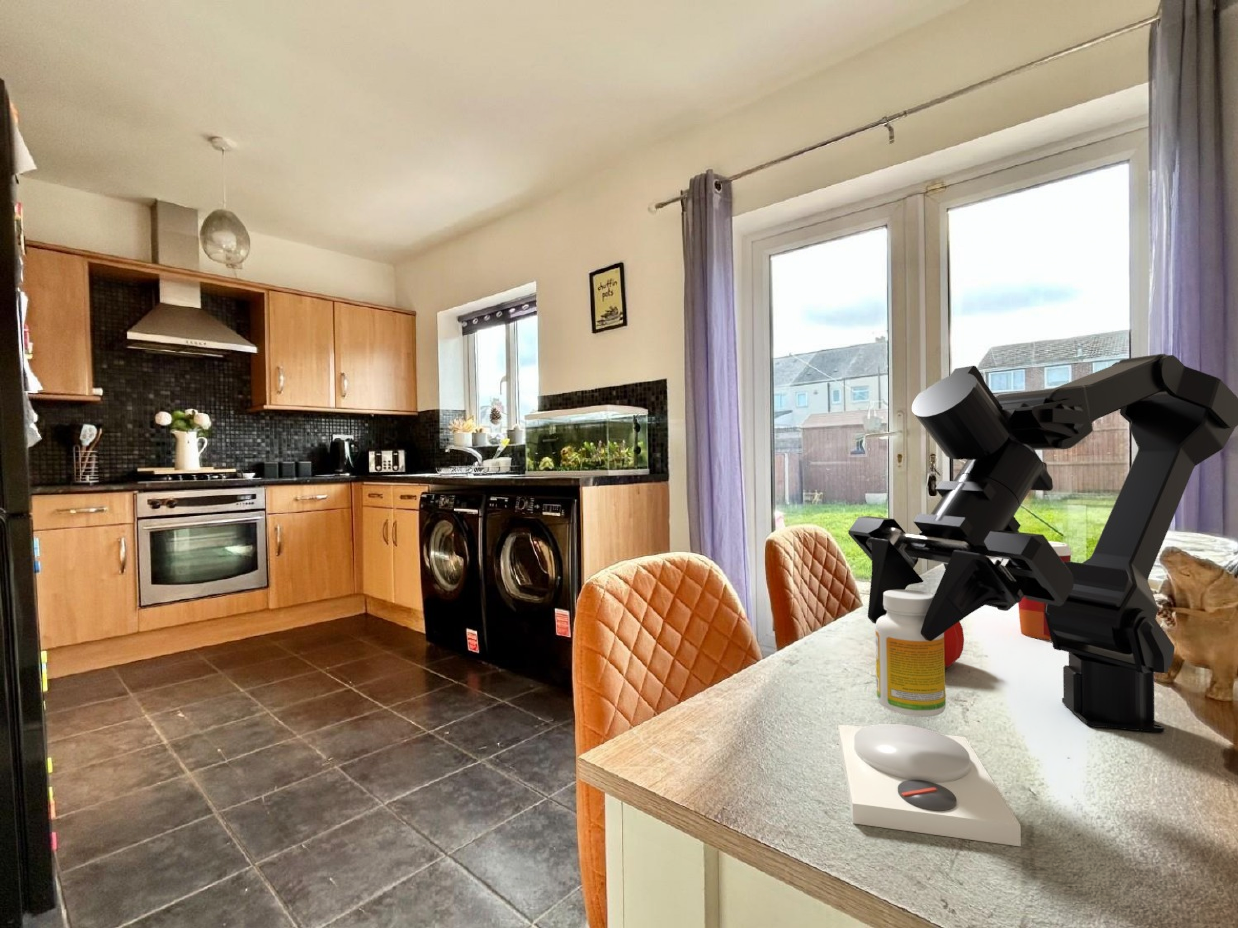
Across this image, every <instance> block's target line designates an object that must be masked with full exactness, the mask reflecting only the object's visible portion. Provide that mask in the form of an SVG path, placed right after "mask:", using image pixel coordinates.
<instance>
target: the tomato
mask: <svg viewBox="0 0 1238 928" xmlns="http://www.w3.org/2000/svg"><path fill="white" fill-rule="evenodd" d="M961 623H962V622H961V621H959V622H958V623H956V624H955V625H953V626H952V627H951V628H949V629H948V630H946V631H945V632H944V659H945V668H949V667H950V666H951V665H953V663H954V662H956V661H957V660H958V659H960V658H961V655H962V652H963V651H964V643H965V636H964V628H963V626H962V624H961Z"/></svg>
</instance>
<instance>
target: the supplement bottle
mask: <svg viewBox="0 0 1238 928" xmlns="http://www.w3.org/2000/svg"><path fill="white" fill-rule="evenodd" d="M933 597H934V595H933V594H932V593H929V592H925V591H921V590H914V589H905V590H888V591H885V592H884V594H883V606H884V609H885V610H887V614H885V615H882V616H881V617H879V618H878V620H877V621H876V624H875V665H876V666H875V667H876V668H875V669H876V671H875V672H876V673H875V675H876V678H875V679H876V680H875V681H876V698H877V701H878V703H879V705H880V706H881V707H883V708H884V709H886V710H888V711H890V712H893V713H897V714H900V715H904V716H908V717H917V718H930V717H935V716H939V715H941V714H943V713H944V711H945V710H946V703H947V701H946V700H947V699H946V696H947V695H946V670H945V669H946V667H945V659H944V633H942V634H941V635H939V636H938V637H937V638H935V639H934V640H932V641H928V640H926V639H925V638H924V637H923V636H922V635H921V629H922V625H923V622H924V619H925V616H926V613H927V611H928V609H929V606H930V604H931V602H932V600H933Z"/></svg>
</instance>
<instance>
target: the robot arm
mask: <svg viewBox="0 0 1238 928" xmlns="http://www.w3.org/2000/svg"><path fill="white" fill-rule="evenodd" d="M1117 411H1119V415H1120V416H1121V417H1122V418H1124V419H1125V420H1126V421H1127V423H1129V430H1130V433H1131V435H1132V437H1133V440H1134V442H1135V443H1136V447H1137V448H1138V449H1137V452H1136V455H1135V457H1134V459H1133V462H1132V464H1131V466H1130V468H1129V470H1128V473H1127V475H1126V477H1125V480H1124V481H1123V484H1122V485H1121V488H1120V491H1119V493H1118V495H1117V498H1116V499H1115V502H1114V504H1113V506H1112V509H1111V510H1110V514H1109V516H1108V518H1107V520H1106V522H1105V524H1104V527H1103V529H1102V532H1101V534H1100V536H1099V537H1098V538H1099V539H1098V540H1097V543H1096V545H1095V547H1094V549H1093V552H1092V554H1091V555H1090V557H1089V558H1088V559H1086V560H1085V561H1083V562H1075V561H1066V562H1065V563H1064V562H1063V561H1062V559H1061V558H1060V557H1059V555H1058V554H1057V553H1056V551H1055V550H1054V549H1053V547H1052V546H1051V544H1050V543H1049V542H1048V541H1049V540H1048V539H1047V538H1046V536H1045V535H1044V534H1042V533H1041V534H1040V533H1031V532H1021V531H1019V529H1020V527H1021V526H1022V525H1021V524H1020V523H1019V521H1018V520H1017V519H1016V517H1015V515H1016V513H1018V510H1019V508H1020V507H1021V505H1022V504H1023V503H1024V501H1025V499H1026V498H1027V496H1028V495H1029V493H1030V491H1040V492H1045V491H1046V492H1050V491H1052V490H1053V488H1054V485H1053V483H1054V482H1053V478H1052V476H1051V475H1050V474H1049V471H1048V468H1047V467H1048V465H1047V463H1046V462H1045V461H1042V459H1041V458H1040V457H1039V455H1038V453H1037V451H1048V450H1050V451H1053V450H1055V451H1056V450H1069V449H1071V448H1073V447H1075V446H1076V445H1077V444H1079V443H1080V442H1081V441H1083V440H1085V438H1086V437H1088V436H1089V435H1090V434H1091V433H1092V432H1093V430H1094V428H1093V427H1094V426H1093V423H1094V422H1095V421H1097V420H1098V419H1101V418H1102V417H1105V416H1107V415H1109V414H1112V413H1115V412H1117ZM911 412H912V413H913V414H914V416H915V417H916V419H918V421H919V422H920V424H921V425H922V427H924V429H925V430H926V431H927V432H928V434H929V435H930V437H931V438H932V439H933V441H934V442H935V443H936V445H937V446H938V447H939V448H940V450H941V451H942V452H943V454H944V455H945V457H947V458H949V459H951V460H957V461H959V460H960V461H961V460H966V461H965V462H964V464H963V466H962V467H961V469H960V470H959V472H957V474H956V476H955V478H954V479H953V481H952V480H949V481H948V480H940V481H939V483H938V485H937V486H936V487H935V490H936V491H937V493H938V494H939V495H940V496H941V498H940V499H939V501H938V503H937V504H936V506H935V507H934V508H933V510H932V512H931V513H930V514H929V513H920V512H919V513H918V514H917V515H916V516H915V517H914V519H913V523H914V525H915V526H916V527H917V528H918V529H919V534H910V533H907V532H906V531H905V530H904V529H903V528H902V527H901V525H900V524H899V523H898V522H897V520H896V519H895V518H890V517H889V518H887V517H882V516H881V517H879V516H872V515H871V516H870V515H868V516H867V515H864V516H858V517H857V519H856V520H854V522H853V524H852V525H851V527H849V530H848V532H847V534H848V535H849V536H850V538H852V540H853V541H854V542H855V543H856V544H857V545H858V547H859V548H860V550H862V551H863V552H864V554H866V556H867V557H868V558H869V560H871V576H870V577H871V578H870V579H871V580H870V588H869V599H868V601H869V602H868V609H867V618H868V620H870V622H872V624H874V625H876V621H877V620H878V618H879V617H881V616H882V615H885V614H887V610H885V609H884V606H883V594H884V592H885V591H888V590H907V589H906V588H908V587H909V585H915V584H921V583H923V582H924V580H923V578H922V577H921V576H920V575H919V574H918V572H917V571H916V569H914V568H915V566H916V565H917V563H918V562H919V559H923V560H929V561H930V562H933V563H938V564H943V566H944V567H943V568H944V569H945V570H944V571H943V572H944V573H943V574H942V577H941V579H940V582H939V584H938V586H937V589H936V590H935V592H934V595H933V596H934V597H933V600H932V602H931V604H930V606H929V609H928V611H927V613H926V616H925V619H924V622H923V625H922V629H921V635H922V636H923V637H924V638H925V639H926V640H928V641H932V640H934V639H935V638H937V637H938V636H939V635H941V634H942V633H944V632H945V631H946V630H948V629H949V628H951V627H952V626H953V625H955V624H956V623H958V622H959V621H960V622H961V621H962V620H963V619H965V618H966V617H968V616H969V615H971V614H972V613H974V612H975V611H977V610H979V609H981V608H983V607H984V606H988V607H991V608H997V610H999V611H1003V612H1005V611H1009V610H1010V609H1012V608H1013V607H1014V606H1015V605H1016V604H1018V603H1019V602H1020V601H1021V599H1022V598H1023V597H1024V596H1025V598H1026V599H1027V600H1032V601H1037V602H1042V603H1046V604H1045V618H1046V621H1047V625H1048V629H1049V633H1050V636H1051V640H1050V641H1051V644H1052V647H1053V649H1054V650H1057V651H1062V652H1067V653H1068V665H1067V664H1065V665H1064V666H1063V667H1062V669H1063V671H1062V673H1063V674H1062V677H1063V681H1062V682H1063V684H1062V685H1063V697H1062V698H1061V703H1062V704H1063V705H1064V706H1066V707H1067V708H1068V709H1069V710H1070V711H1071V712H1072V713H1073V714H1074V715H1076V716H1077V717H1078V718H1079V719H1080V720H1081V721H1082V722H1083V723H1085V724H1086V725H1087V726H1091V727H1098V728H1099V727H1100V728H1110V729H1118V730H1119V729H1120V730H1131V731H1141V732H1142V731H1144V732H1151V733H1152V732H1153V733H1164V732H1165V726H1164V725H1162V724H1161V723H1159V722H1158V721H1157V720H1155V673H1159V674H1167V673H1169V668H1171V667H1172V663H1173V661H1174V654H1175V644H1173V642H1172V641H1171V638H1169V636H1168V635H1167V633H1166V632H1165V631H1164V629H1163V628H1162V626H1161V625H1160V623H1159V622H1158V620H1157V619H1156V618H1157V614H1158V610H1159V607H1158V604H1157V602H1156V599H1155V596H1154V593H1153V591H1152V588H1151V585H1150V584H1149V579H1150V578H1149V577H1150V576H1151V575H1150V574H1151V572H1152V570H1153V567H1154V565H1155V562H1156V560H1157V558H1158V556H1159V554H1160V550H1161V548H1162V546H1163V543H1164V542H1165V538H1166V536H1167V533H1168V532H1169V529H1170V527H1171V524H1172V521H1173V519H1174V517H1175V514H1176V512H1177V510H1178V508H1179V504H1180V502H1181V499H1182V498H1183V495H1184V494H1185V493H1184V492H1185V491H1186V488H1187V485H1188V484H1189V480H1190V478H1191V476H1192V474H1193V471H1194V469H1195V467H1196V466H1197V465H1199V464H1200V463H1203V462H1204V461H1206V460H1207V459H1209V458H1210V457H1212V456H1214V455H1215V454H1217V453H1218V452H1220V451H1222V450H1223V449H1224V448H1225V446H1226V445H1227V443H1228V441H1229V440H1230V438H1231V436H1232V435H1233V433H1234V431H1235V429H1236V428H1237V427H1238V395H1236V394H1235V393H1234V392H1233V391H1232V390H1231V389H1230V388H1229V386H1228V385H1227V384H1225V382H1224V381H1222V379H1220V378H1219V377H1217V376H1213V375H1212V374H1208V373H1205V372H1204V371H1200V370H1197V369H1194V368H1191V367H1189V366H1186V365H1185V364H1184V363H1183V362H1182V361H1180V360H1179V358H1177V356H1175V355H1173V354H1170V355H1167V354H1166V353H1159V354H1152V355H1151V354H1150V355H1143V356H1137V357H1136V356H1135V357H1130V358H1122V359H1120V360H1118V362H1116V361H1115V362H1114V363H1113V364H1112V365H1110V366H1108V367H1105V368H1103V369H1100V370H1098V371H1095V372H1093V373H1090V374H1087V375H1085V376H1082V377H1080V378H1077V379H1075V380H1071V381H1070V382H1066V383H1064V384H1062V385H1059V386H1057V387H1055V388H1045V389H1038V390H1028V391H1019V392H1018V391H1017V392H1010V393H1002V394H1001V393H1000V394H999V395H997V396H995V395H994V394H993V391H992V390H991V389H990V387H989V386H988V385H987V383H986V381H985V379H984V377H983V374H982V372H980V370H979V369H978V368H977V366H976V365H970V366H964V367H962V366H961V367H957V368H954V370H952V372H951V374H950V375H949V376H946V377H944V378H942V379H939V380H937V382H935V383H933V384H931V385H930V386H928V387H927V388H926V389H925V390H923V391H920V392H919V393H918V394H917V395H916V397H915V398H914V400H913V401H912V405H911Z"/></svg>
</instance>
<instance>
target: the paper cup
mask: <svg viewBox="0 0 1238 928" xmlns="http://www.w3.org/2000/svg"><path fill="white" fill-rule="evenodd" d="M1048 542H1049V543H1050V544H1051V546H1052V547H1053V549H1054V550H1055V551H1056V553H1057V554H1058V555H1059V557H1060V558H1061V559H1062V561H1063V562H1064V563H1065V562H1066V561H1070V562H1072V561H1071V559H1072V557H1071V556H1073V555H1074V552H1073V551H1072V550H1071V547H1070V546H1069V544H1068V543H1065V542H1060V541H1050V540H1048ZM1045 604H1046V603H1042V602H1037V601H1032V600H1027V599H1026V598H1025V596H1024V597H1023V598H1022V599H1021V601H1020V602H1019V603H1017V605H1018V614H1019V615H1018V616H1019V625H1020V632H1021V634H1022V635H1023V636H1026V637H1029V638H1032V639H1037V638H1039V639H1038V640H1043V639H1046V640H1045V641H1052V640H1051V636H1050V633H1049V629H1048V625H1047V621H1046V618H1045Z"/></svg>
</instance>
